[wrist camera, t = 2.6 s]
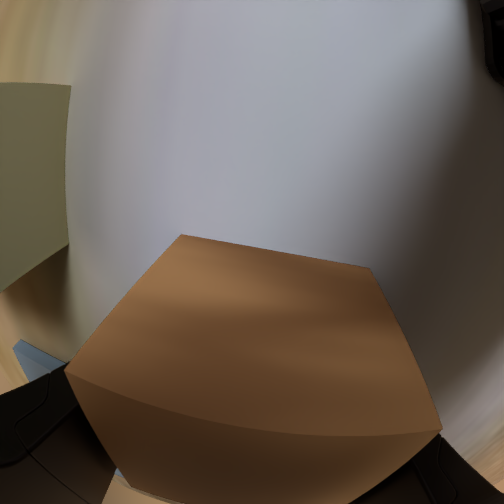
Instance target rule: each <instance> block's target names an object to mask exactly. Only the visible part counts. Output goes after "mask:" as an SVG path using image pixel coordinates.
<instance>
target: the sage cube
mask: <svg viewBox="0 0 504 504" xmlns="http://www.w3.org/2000/svg"><path fill="white" fill-rule="evenodd" d="M70 91H71V86H70V85H59V84H44V83H14V82H7V83H0V292H2V291H3V290H4V289H6V288H7V287H8V286H9V285H11V284H12V283H13V282H15V281H16V280H17V279H19V278H20V277H21V276H23V275H24V274H26V273H27V272H28V271H30V270H31V269H32V268H34V267H35V266H37V265H38V264H40V263H41V262H42V261H44V260H45V259H47V258H48V257H50V256H51V255H53V254H54V253H56V252H57V251H59V250H60V249H62V248H63V247H65V246H66V245H68V244H69V238H68V228H67V215H66V197H65V148H66V130H67V117H68V108H69V99H70Z"/></svg>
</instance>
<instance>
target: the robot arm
mask: <svg viewBox="0 0 504 504" xmlns="http://www.w3.org/2000/svg"><path fill="white" fill-rule="evenodd" d="M480 3H481V10H482V18H483V28H484V41H485V61H486V66H487V69H488V71H489V73H490V74H491V76H492V77H493V78H494V79H495V80H496V81H497V82H498V83H500V84H501V85H502V86H504V0H480ZM500 64H501V66H502V69H501V67H500ZM70 362H71V361H69V362H67V363H66V364H64V365H62V366H60V367H58V368H56V369H54V370H52V371H51V372H50V373H47V374H45V375H43V376H41V377H39V378H37V379H35V380H33V381H31V382H29V383H27V384H25V385H23V386H21V387H18V388H16V389H13V390H11V391H9V392H6V393H4V394H1V395H0V504H101V503H102V501H103V499H104V497H105V494H106V492H107V490H108V487H109V485H110V483H111V480H112V478H113V476H114V474H115V471H116V469H117V467H116V465H115V464H114V462H113V461H112V459H111V458H110V456H109V455H108V453H107V452H106V450H105V448H104V447H103V445H102V444H101V442H100V440H99V439H98V437H97V435H96V434H95V432H94V430H93V428H92V427H91V425H90V423H89V421H88V419H87V418H86V416H85V414H84V412H83V410H82V408H81V406H80V404H79V402H78V400H77V398H76V396H75V394H74V392H73V390H72V387H71V385H70V383H69V381H68V378H67V376H66V374H65V371H64V370H65V368H66V367H67V366H68V364H69V363H70ZM348 504H504V494H503V493H501V492H500V491H499V490H497V489H496V488H495V487H494V486H493V485H491V484H490V483H489V482H488V481H487V480H486V479H485V478H484V477H483V476H481V475H480V474H479V473H478V472H477V471H476V470H475V469H474V468H473V467H471V466H470V465H469V464H468V463H467V462H466V461H465V460H464V459H463V458H462V457H461V456H460V455H459V454H458V453H457V452H456V451H455V450H454V449H453V448H452V447H451V445H450V444H449V443H448V442H447V441H446V440H445V439H444V438H443V437H441V435H440V433H438V434H437V435H436V436H435V437H434V438H433V439H432V440H431V441H430V442H429V443H428V444H427V445H425V446H424V447H423V448H422V449H421V450H420V451H419V452H418V453H417V454H415V455H414V456H413V457H412V458H411V459H410V460H408V461H407V462H406V463H405V464H404V465H402V466H401V467H400V468H399V469H397V470H396V471H395V472H393V473H392V474H391V475H389V476H388V477H387V478H385V479H384V480H383V481H381V482H380V483H379V484H377V485H376V486H374V487H373V488H371V489H370V490H368V491H367V492H365V493H364V494H362V495H361V496H359V497H358V498H356V499H355V500H353V501H351V502H350V503H348Z"/></svg>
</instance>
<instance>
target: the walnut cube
mask: <svg viewBox="0 0 504 504" xmlns="http://www.w3.org/2000/svg"><path fill="white" fill-rule="evenodd" d="M64 371H65V374H66V376H67V378H68V381H69V383H70V385H71V387H72V390H73V392H74V394H75V396H76V398H77V400H78V402H79V404H80V406H81V408H82V410H83V412H84V414H85V416H86V418H87V419H88V421H89V423H90V425H91V427H92V428H93V430H94V432H95V434H96V435H97V437H98V439H99V440H100V442H101V444H102V445H103V447H104V448H105V450H106V452H107V453H108V455H109V456H110V458H111V459H112V461H113V462H114V464H115V465H116V467H117V468H118V470H119V471H120V472H121V474H122V475H123V477H124V478H125V479H126V481H127V482H128V483H129V485H130V486H131V487H133V488H136V489H139V490H142V491H144V492H147V493H150V494H153V495H157V496H160V497H163V498H166V499H170V500H173V501H177V502H181V503H185V504H348V503H350V502H351V501H353V500H355V499H356V498H358V497H359V496H361V495H362V494H364V493H365V492H367V491H368V490H370V489H371V488H373V487H374V486H376V485H377V484H379V483H380V482H381V481H383V480H384V479H385V478H387V477H388V476H389V475H391V474H392V473H393V472H395V471H396V470H397V469H399V468H400V467H401V466H402V465H404V464H405V463H406V462H407V461H408V460H410V459H411V458H412V457H413V456H414V455H415V454H417V453H418V452H419V451H420V450H421V449H422V448H423V447H424V446H425V445H427V444H428V443H429V442H430V441H431V440H432V439H433V438H434V437H435V436H436V435H437V434H438V433H439V432H440V431H441V430H442V429H443V428H442V425H441V422H440V419H439V416H438V414H437V411H436V408H435V406H434V403H433V400H432V398H431V395H430V393H429V390H428V388H427V385H426V383H425V381H424V378H423V376H422V373H421V371H420V369H419V367H418V364H417V362H416V360H415V357H414V355H413V353H412V351H411V349H410V347H409V344H408V342H407V340H406V338H405V336H404V334H403V332H402V330H401V328H400V326H399V324H398V322H397V320H396V318H395V316H394V314H393V312H392V310H391V308H390V306H389V304H388V302H387V300H386V298H385V296H384V294H383V292H382V291H381V289H380V287H379V285H378V283H377V281H376V279H375V278H374V276H373V274H372V272H371V271H370V269H369V268H365V267H360V266H355V265H349V264H344V263H338V262H333V261H327V260H322V259H317V258H311V257H306V256H300V255H295V254H289V253H284V252H278V251H272V250H267V249H261V248H256V247H250V246H245V245H239V244H233V243H228V242H222V241H217V240H211V239H205V238H200V237H194V236H188V235H183V234H181V235H180V236H179V237H178V238H177V239H176V240H175V241H174V242H173V243H172V244H171V246H170V247H169V248H168V249H167V250H166V251H165V252H164V253H163V254H162V255H161V256H160V257H159V258H158V259H157V260H156V262H155V263H154V264H153V265H152V266H151V267H150V268H149V269H148V270H147V271H146V272H145V274H144V275H143V276H142V277H141V278H140V279H139V280H138V281H137V282H136V284H135V285H134V286H133V287H132V288H131V289H130V290H129V292H128V293H127V294H126V295H125V296H124V297H123V298H122V300H121V301H120V302H119V303H118V304H117V305H116V306H115V308H114V309H113V310H112V311H111V312H110V314H109V315H108V316H107V317H106V318H105V319H104V321H103V322H102V323H101V324H100V325H99V327H98V328H97V329H96V330H95V332H94V333H93V334H92V335H91V336H90V338H89V339H88V340H87V341H86V343H85V344H84V345H83V346H82V348H81V349H80V350H79V351H78V353H77V354H76V355H75V357H74V358H73V359H72V360H71V362H70V363H69V364H68V366H67V367H66V368H65V370H64Z"/></svg>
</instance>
